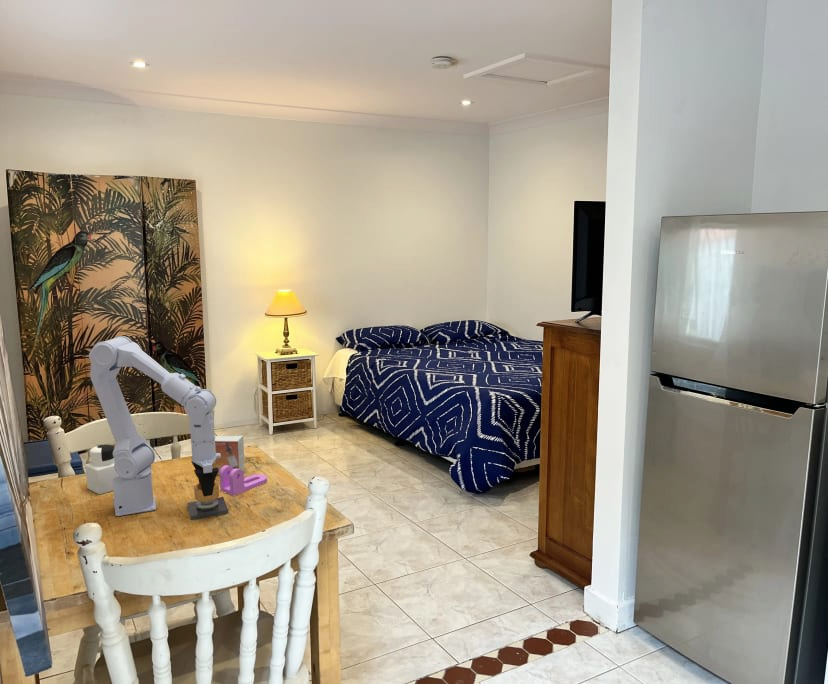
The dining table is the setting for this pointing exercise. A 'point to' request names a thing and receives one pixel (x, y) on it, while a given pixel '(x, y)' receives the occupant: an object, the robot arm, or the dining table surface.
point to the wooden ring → (200, 496)
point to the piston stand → (207, 508)
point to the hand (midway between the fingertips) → (206, 490)
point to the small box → (229, 452)
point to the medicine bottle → (101, 469)
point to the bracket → (238, 480)
